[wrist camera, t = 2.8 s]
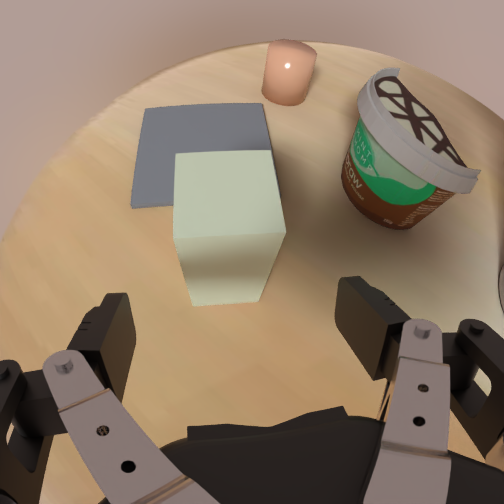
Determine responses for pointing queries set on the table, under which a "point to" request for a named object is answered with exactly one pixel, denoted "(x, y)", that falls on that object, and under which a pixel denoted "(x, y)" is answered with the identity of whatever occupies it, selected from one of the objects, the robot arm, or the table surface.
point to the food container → (400, 157)
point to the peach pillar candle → (288, 72)
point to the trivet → (191, 143)
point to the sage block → (226, 224)
